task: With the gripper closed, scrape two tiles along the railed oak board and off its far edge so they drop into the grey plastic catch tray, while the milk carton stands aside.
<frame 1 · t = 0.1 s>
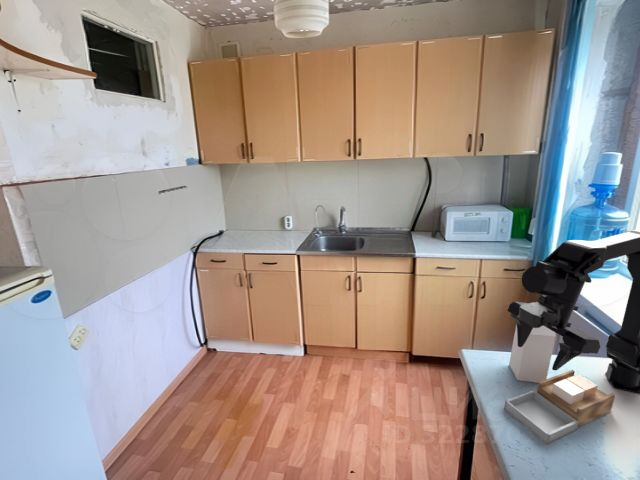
hand: (536, 357, 78), 15 cm above the table, tool pointing down, fingers open, 9 cm apart
milk carton: (526, 374, 96), on the table
tray: (538, 419, 80), on the table
tile 1: (566, 395, 82), point 4 cm above the table, touching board
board: (571, 405, 85), on the table
tile 2: (579, 390, 84), point 4 cm above the table, touching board
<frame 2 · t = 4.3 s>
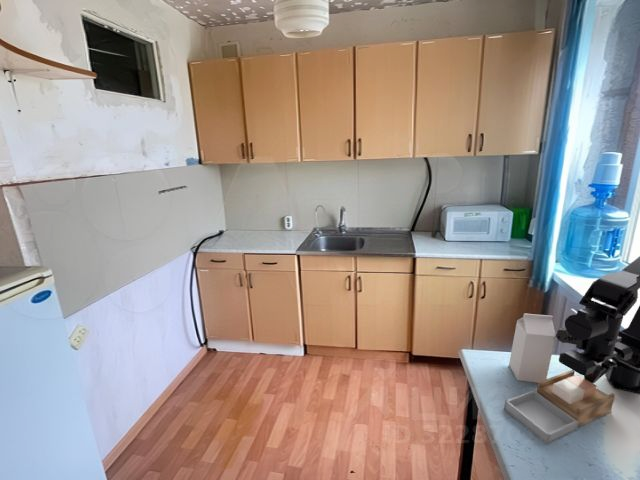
hand: (588, 384, 85), 5 cm above the table, tool pointing down, fingers closed
tile 2: (578, 390, 84), point 4 cm above the table, touching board, gripper
everything else where it was.
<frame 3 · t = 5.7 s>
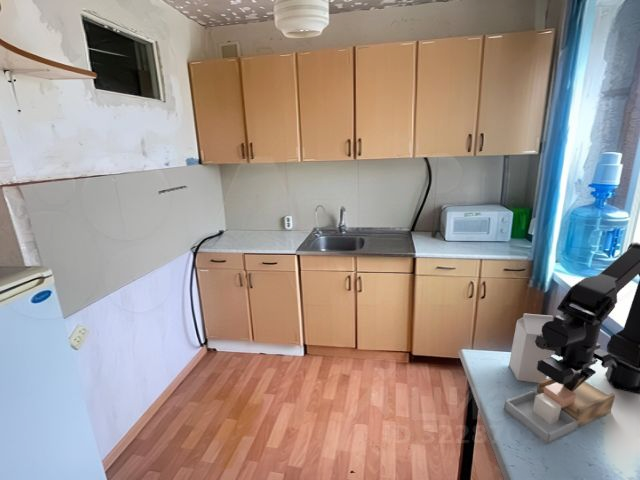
hand: (567, 392, 82), 5 cm above the table, tool pointing down, fingers closed
tile 1: (550, 406, 81), point 3 cm above the table, tilted 90°, touching tray
tile 2: (558, 399, 81), point 4 cm above the table, touching gripper
everything else where it was.
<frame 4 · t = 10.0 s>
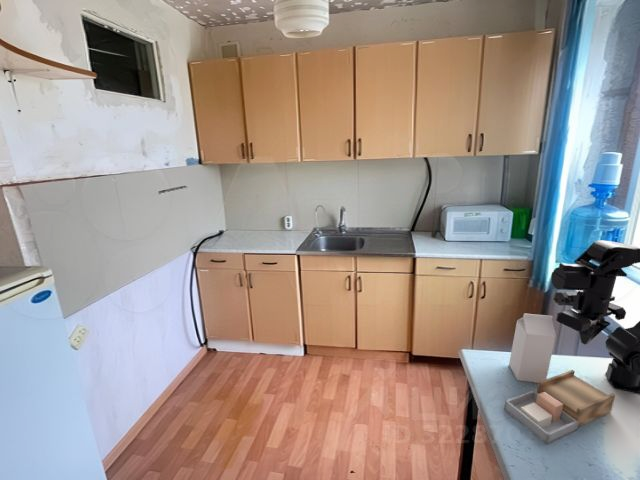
hand: (584, 343, 90), 12 cm above the table, tool pointing down, fingers closed
tile 1: (536, 411, 79), point 3 cm above the table, tilted 180°, touching tray
tile 2: (552, 405, 81), point 3 cm above the table, tilted 90°, touching tray
everything else where it was.
at the end: tile 2 3.9 cm from the tray (horizontally); tile 1 1.7 cm from the tray (horizontally); tile 2 point 2.7 cm above the table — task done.
